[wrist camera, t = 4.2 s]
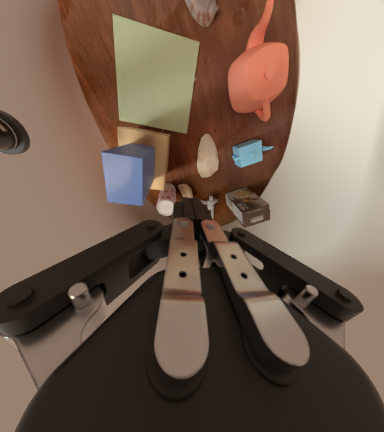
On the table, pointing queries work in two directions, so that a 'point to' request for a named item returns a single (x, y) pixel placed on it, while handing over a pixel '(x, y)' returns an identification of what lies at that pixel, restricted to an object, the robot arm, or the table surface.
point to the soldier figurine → (210, 204)
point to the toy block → (128, 173)
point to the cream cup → (185, 190)
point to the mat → (153, 75)
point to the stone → (207, 157)
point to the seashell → (202, 11)
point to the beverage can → (166, 200)
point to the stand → (154, 140)
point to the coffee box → (248, 207)
